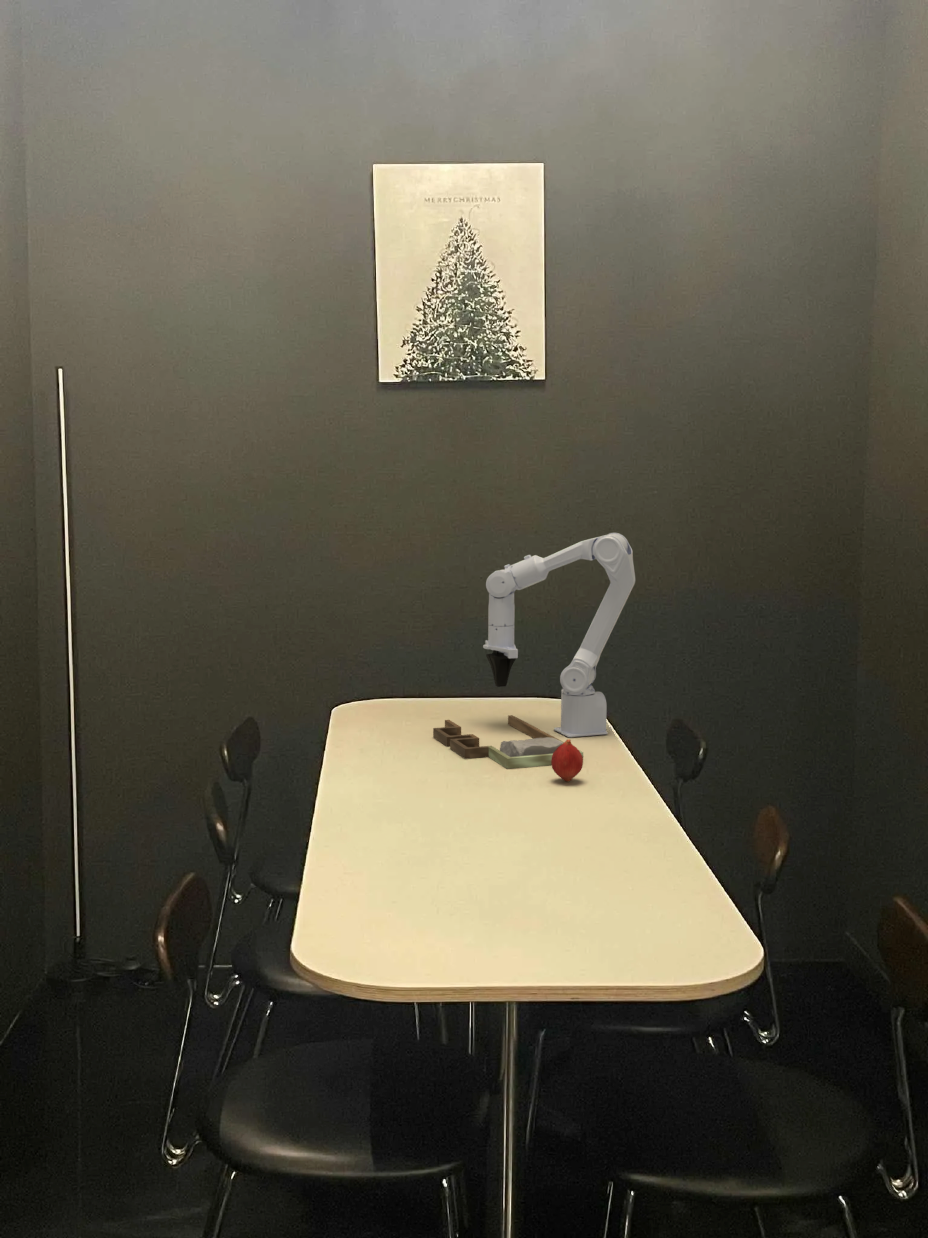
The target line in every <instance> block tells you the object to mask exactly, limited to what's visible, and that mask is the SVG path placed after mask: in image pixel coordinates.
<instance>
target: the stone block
mask: <svg viewBox="0 0 928 1238" xmlns="http://www.w3.org/2000/svg"><path fill="white" fill-rule="evenodd" d="M555 738H556V737H555ZM555 738H550V737H546V738H528V739H518V740H516V739H513V740H507V741H506V740H503V741H501V742H500V747H499V751H501V752H503V753H504V754H506V755H508V756H509V757H517V756H529V755H541V754H553V753H554V751H555V750H556V749H557V748H558V747H559V746H560V745H562V744H563V742H564V741H563V742H561V741H562V740H561V741H559V740H560V739H559V738H557V739H555ZM558 739H559V740H558Z"/></svg>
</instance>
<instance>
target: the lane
mask: <svg viewBox="0 0 928 1238" xmlns="http://www.w3.org/2000/svg"><path fill="white" fill-rule="evenodd" d="M507 724H508V726H510V727H512V728H514V729H515V730H518V731H519V732H521V733H524V734H525V735H527V736H529V737H530V738H531V739H534V738H546V737H550V738H555V739H558V740H559V741H561V742H563V743H564V742H565V741H562V740H560V739H559V738H557V737H555V736H552V734H549V733H548V732H545V731H544V730H541V729H539V728H537V727H536V726H534V725H532V724H529V723H528V722H527V721H524V720H522V719H520V718H518V716H517V717H516V715H513V714H510V715H507ZM432 729H433V730H432V733H433V735H432V737H433V739H435V740H437V741H438V742H440V743H441V744H442V745H444V746H445V747H446V748H447V747H448V748H449V749H450V750H451V751H453V752H454V753H455V754H457V755H459V756H460V757H461V758H463V759H465V760H466V759H467V760H468V759H479V758H480V759H481V758H489V759H491V760H493V761H494V762H496V763H497V764H499V765H500V766H502V767H503V768H505V769H508V770H510V769H511V770H513V769H523V768H533V767H543V766H544V767H545V766H552V764H551V760H552V755H553V754H541V755H529V756H517V757H509V756H508V755H506V754H504V753H503V752H501V751H500V749H498V748H496V747H495V746H492V745H483V746H480V738H479V737H478V736H477V735H475V734H473V733H469V734H462V726H460V725H459V724H457V723H455V722H454V721H453V720H450V719H444V727H433V728H432ZM578 750H579V749H578ZM579 751H580V753H581V755H582V758H583V759H584V751H581V750H579Z"/></svg>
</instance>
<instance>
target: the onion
mask: <svg viewBox="0 0 928 1238" xmlns="http://www.w3.org/2000/svg"><path fill="white" fill-rule="evenodd" d="M563 742H564V743H563V744H562V745H560V746H559V747H558V748H557V749H556V750H555V751H554V753H553V755H552V760H551V764H552V765H551V769H552V770H553V772H554V773H555V774H556V775H557V776H558V777H559V778H561V779H562V780H563V781H564V782H566V783H567V782H568V783H569V782H571V781H572V780H573V778H575V777H576V776H577V775H579V773H580V772H581V771H582V768H583V765H584V757H583V758H582V755H581V753H580V751H581V750H580V751H579V748H577V747H576V746H575V745H573V744H572V742H571V739H570V738H568V739H566V740H565V741H563Z"/></svg>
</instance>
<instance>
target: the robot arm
mask: <svg viewBox="0 0 928 1238" xmlns="http://www.w3.org/2000/svg"><path fill="white" fill-rule="evenodd" d="M633 552H634V551H633V549H632V547H631V545H630V543H629V540H628V539H627V538H626V537H625V536H624V535H623V534H621V533H618V532H609V533H608V534H605V535H604V534H603V535H601V536H596V537H592V538H588V539H585V540H581V541H579V542H577V543H574V544H573V545H572V544H571V545H570V546H568V547H566V548H563V549H561V550H559V551H557V552H555V553H552V554H550V555H548V556H545V557H541V556H538V555H537V554H535V555H532V554H527V555H525V556H524V557H523V560H520V561H518V562H516V563H513V564H510V563H508V564H506V565H504V566H503V567H504V569H499V570H495V571H493V572H492V573H491V574H490V575H489V576H488V577H487V578H486V580H485V581H486V582H485V588H486V590H487V593H488V609H487V610H488V611H487V612H488V617H487V618H488V621H487V622H488V624H487V625H488V626H487V627H488V630H487V631H488V632H487V635H488V637H487V639H486V640H484V643H485V644H483V645H482V648H483V649H485V650H491V651H492V653H487V654H486V659H487V660H488V663H489V665H490V668H491V672H492V675H493V680H494V681H493V682H494V685H495V687H497V688H498V687H499V688H500V687H502V688H503V687H507V685H508V680H509V677H510V673H511V670H512V667H513V665H514V663H515V661H516V660H517V659H518V657H519V656H518V655H519V649H518V648H517V647H516V644H515V609H516V605H515V592H516V590H517V591H521V590H523V589H526V588H529V587H530V586H533V585H535V584H538V583H540V582H543V581H545V580H547V577H548V575H549V572H551V571H553V570H555V569H559V568H561V567H563V566H566V565H569V564H571V563H573V562H576V561H580V560H586V561H594V560H597V562H598V563H599V564H600V565H601V567H603V569H604V571H605V573H606V574H607V577H608V580H609V584H608V587H607V590H606V592H605V593H604V595H603V598H602V601H601V602H600V604H599V607H598V608H597V611H596V613H595V615H594V617H593V618H592V620H591V622H590V623H591V624H590V626H589V628H588V630H587V632H586V634H585V636H584V638H583V639H582V642H581V644H580V647H579V648H578V650H577V652H576V653H575V654H574V657H573V659H572V660H571V662H570V663H569V665H568V666H566V667H565V668H564V669H563V670H562V671H561V673H560V676H559V682H560V685H561V687H562V688H561V690H560V691H561V694H560V695H561V697H560V727H553V731H555V732H558V733H559V734H561V735H563V736H565V737H568V738H576V737H586V736H587V737H589V736H601V735H608V734H609V732H608V731H607V707H608V706H607V705H608V704H607V699H606V695H604V693H603V692H602V691H596V690H595V688H594V686H593V685H592V684H593V683H594V682H595V679H596V677H597V669H596V668H597V665H598V663H599V661H600V657H601V655H602V652H603V650H604V649H605V646H606V645H607V642H608V640H609V638H610V635H611V633H612V632H613V629H614V627H615V625H616V624H617V621H618V619H619V617H620V615H621V614H622V610H623V609H624V607H625V605H626V603H627V601H628V598H629V596H630V594H631V591H632V590H633V588H634V587H635V584H636V573H635V566H634V556H633Z"/></svg>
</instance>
